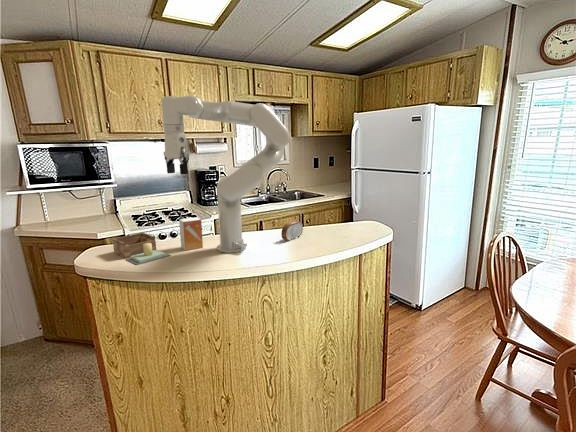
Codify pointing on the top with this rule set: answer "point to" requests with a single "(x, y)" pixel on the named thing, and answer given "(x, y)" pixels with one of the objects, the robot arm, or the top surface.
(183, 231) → the small box
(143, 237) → the box
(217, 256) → the top surface
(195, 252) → the top surface
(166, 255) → the mat
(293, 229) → the bread slice
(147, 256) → the lid
